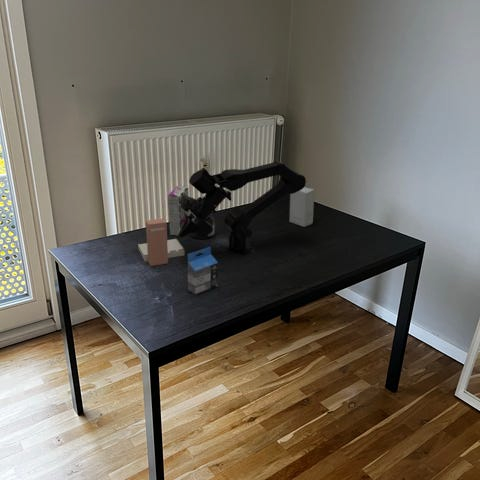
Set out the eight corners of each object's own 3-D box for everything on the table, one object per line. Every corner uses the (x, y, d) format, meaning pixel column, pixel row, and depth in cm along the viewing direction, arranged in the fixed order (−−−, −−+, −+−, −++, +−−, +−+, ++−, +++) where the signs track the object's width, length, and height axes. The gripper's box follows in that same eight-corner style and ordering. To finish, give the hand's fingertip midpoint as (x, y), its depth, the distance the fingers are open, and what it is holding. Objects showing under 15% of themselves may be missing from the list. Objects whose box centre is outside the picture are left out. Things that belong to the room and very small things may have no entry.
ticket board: (176, 243, 175) (176, 238, 174) (184, 255, 167) (184, 249, 166) (138, 249, 170) (138, 244, 169) (144, 261, 162) (144, 256, 161)
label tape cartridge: (195, 295, 143) (194, 258, 138) (187, 290, 146) (186, 254, 140) (218, 286, 148) (218, 250, 143) (210, 281, 151) (210, 246, 146)
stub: (165, 258, 164) (163, 218, 158) (168, 263, 161) (166, 222, 155) (148, 261, 162) (145, 220, 155) (150, 266, 159) (148, 224, 152)
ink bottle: (215, 239, 179) (215, 210, 174) (191, 240, 178) (191, 210, 173) (213, 229, 188) (213, 200, 183) (190, 230, 187) (190, 201, 182)
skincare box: (312, 224, 196) (316, 189, 190) (303, 227, 192) (306, 192, 186) (297, 218, 201) (299, 184, 195) (287, 221, 198) (290, 187, 191)
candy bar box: (177, 224, 192) (176, 185, 185) (189, 225, 191) (189, 186, 184) (168, 235, 182) (167, 194, 175) (181, 236, 181) (180, 195, 174)
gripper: (185, 178, 163) (155, 212, 164) (203, 196, 148) (170, 233, 148) (207, 198, 170) (177, 230, 170) (226, 216, 154) (194, 252, 155)
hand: (179, 236), depth 161 cm, fingers closed
